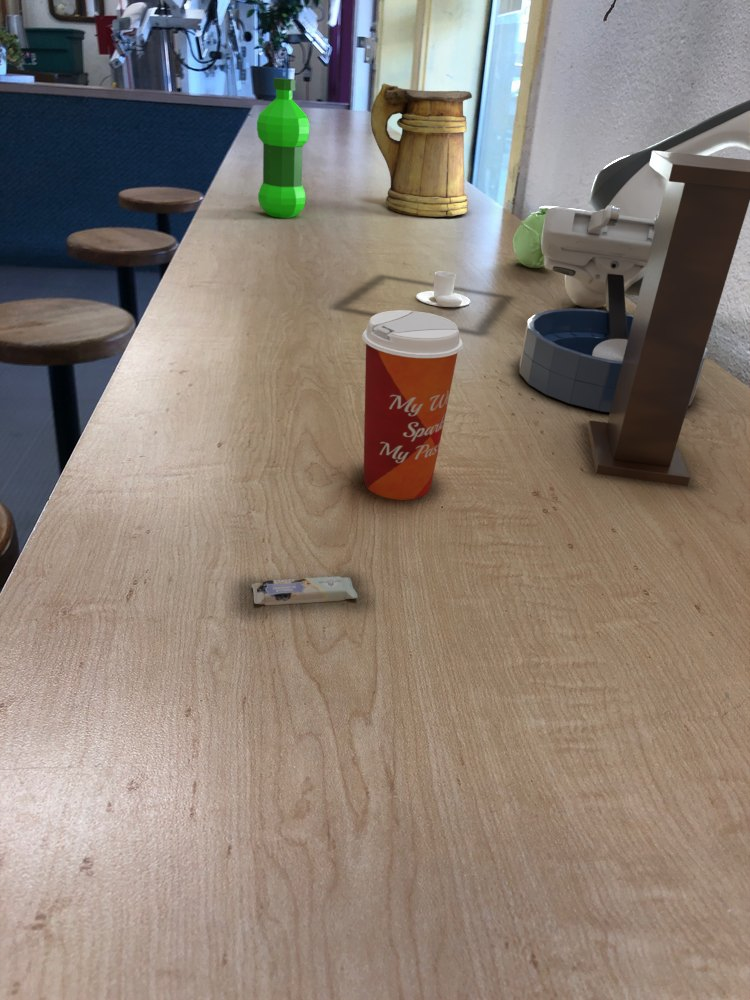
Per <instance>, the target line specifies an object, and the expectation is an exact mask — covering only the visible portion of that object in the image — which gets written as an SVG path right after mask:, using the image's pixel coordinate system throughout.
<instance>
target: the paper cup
mask: <svg viewBox="0 0 750 1000" xmlns="http://www.w3.org/2000/svg"><path fill="white" fill-rule="evenodd" d="M361 338H362V341H363V342H364V343H365V372H364V373H365V375H364V376H365V377H364V378H365V380H364V381H365V382H364V422H363V423H364V425H363V426H364V427H363V429H364V430H363V433H364V434H363V483H364V486H365V487H366V488H367V489H368V490H369V491H370V492H371V493H373V494H375V495H377V496H380V497H383V498H386V499H391V500H400V501H401V500H402V501H403V500H404V501H406V500H414V499H418V498H421V497H424V496H425V495H426V494H428V492H429V491H430V490H431V486H432V482H433V478H434V473H435V468H436V464H437V460H438V454H439V449H440V444H441V440H442V434H443V429H444V425H445V419H446V415H447V410H448V409H447V408H448V404H449V399H450V395H451V389H452V383H453V379H454V373H455V368H456V365H457V364H456V363H457V359H458V353H460V352H461V351H462V350H463V348H464V343H463V340H462V338H461V337H460V330H459V328H458V325H457V324H456V323H455V322H454V321H453V320H451V319H448V318H446V317H444V316H441V315H439V314H434V313H430V312H425V311H419V310H418V311H417V310H409V309H408V310H403V309H399V310H397V309H396V310H387V311H382V312H381V311H380V312H378V313H376V314H374V315H372V316H371V317H370V319H369V320H368V324H367V328H365V330H364V331H363V333H362V335H361Z"/></svg>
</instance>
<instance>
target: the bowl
mask: <svg viewBox="0 0 750 1000" xmlns="http://www.w3.org/2000/svg"><path fill="white" fill-rule="evenodd" d="M633 317H634V314H631V313H626V322H627V337H629V333H630V329H631V325H632V321H633ZM606 340H608V337H607V310H604V309H598V308H596V309H588V308H559V309H548V310H545V311H541V312H537V313H534V315H532V316H531V317H530V318H528V319H527V321H526V326H525V331H524V337H523V343H522V348H521V354H520V359H519V366H518V367H519V368H518V369H519V375H520V376H521V377H522V378H523V380H524V381H525V382H526V383H527V384H528V385H529V386H531V387H533V388H535V389H536V390H538V391H539V392H541V393H542V394H544V395H546V396H549V397H551V398H553V399H556V400H559V401H561V402H564V403H567V404H569V405H573V406H577V407H581V408H585V409H590V410H594V411H598V412H603V413H610V410H611V406H612V402H613V398H614V394H615V390H616V386H617V382H618V378H619V374H620V370H621V366H622V362H623V361H615V360H609V359H604V358H600V357H596V356H592V352H593V350H594V348H595V347H596V346H597V345H598V344H599V343H601V342H603V341H606ZM708 353H709V349H708V348H707V347H706V348H705V352H704V355H703V358H702V362H701V365H700V368H699V372H698V375H697V378H696V382H695V385H694V388H693V392H692V395H691V398H690V402H689V405H688V407H689V406H691V405H692V403H693V400H694V399H695V395H696V393H697V389H698V386H699V383H700V380H701V376H702V373H703V369H704V367H705V363H706V359H707V356H708Z"/></svg>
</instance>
